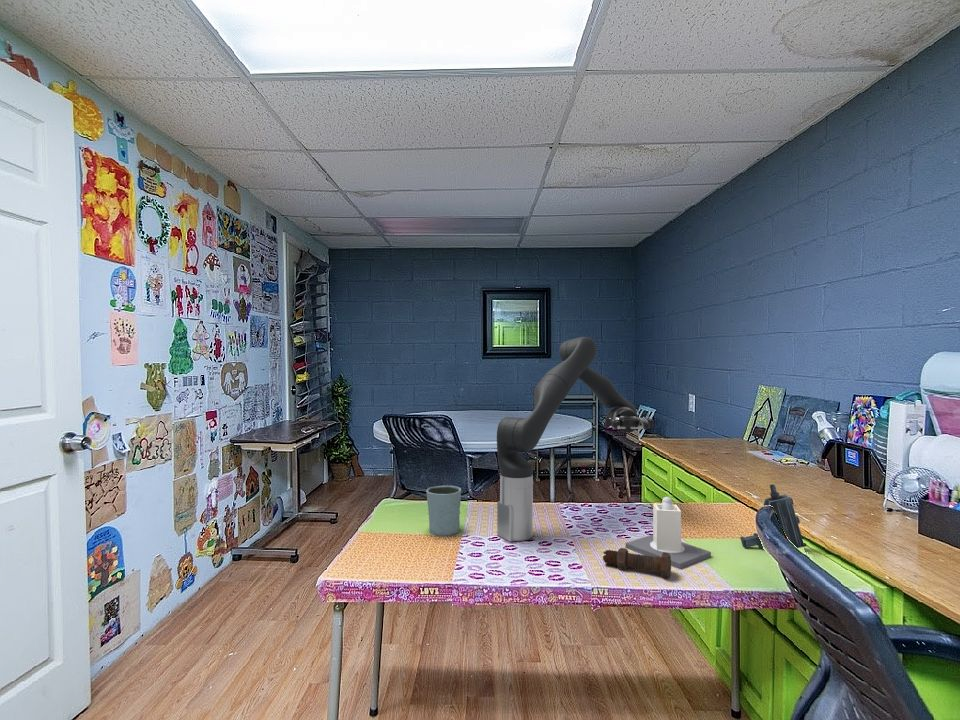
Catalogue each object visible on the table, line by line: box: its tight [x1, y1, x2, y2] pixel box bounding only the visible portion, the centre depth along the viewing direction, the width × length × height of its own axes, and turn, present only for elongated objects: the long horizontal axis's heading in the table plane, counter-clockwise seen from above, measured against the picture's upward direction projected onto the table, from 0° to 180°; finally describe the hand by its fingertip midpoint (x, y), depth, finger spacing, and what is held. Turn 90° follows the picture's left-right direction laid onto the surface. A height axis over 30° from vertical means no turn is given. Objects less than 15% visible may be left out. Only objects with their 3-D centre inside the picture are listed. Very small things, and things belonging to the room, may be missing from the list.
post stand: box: [624, 496, 712, 570], centre depth 127 cm, size 13×16×14 cm
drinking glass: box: [425, 485, 462, 537], centre depth 143 cm, size 10×10×12 cm
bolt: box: [602, 547, 672, 580], centre depth 116 cm, size 6×5×15 cm
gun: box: [739, 483, 808, 549], centre depth 129 cm, size 3×17×15 cm
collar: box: [652, 503, 682, 551], centre depth 127 cm, size 6×6×10 cm
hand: (631, 426), depth 146 cm, fingers open, 8 cm apart
